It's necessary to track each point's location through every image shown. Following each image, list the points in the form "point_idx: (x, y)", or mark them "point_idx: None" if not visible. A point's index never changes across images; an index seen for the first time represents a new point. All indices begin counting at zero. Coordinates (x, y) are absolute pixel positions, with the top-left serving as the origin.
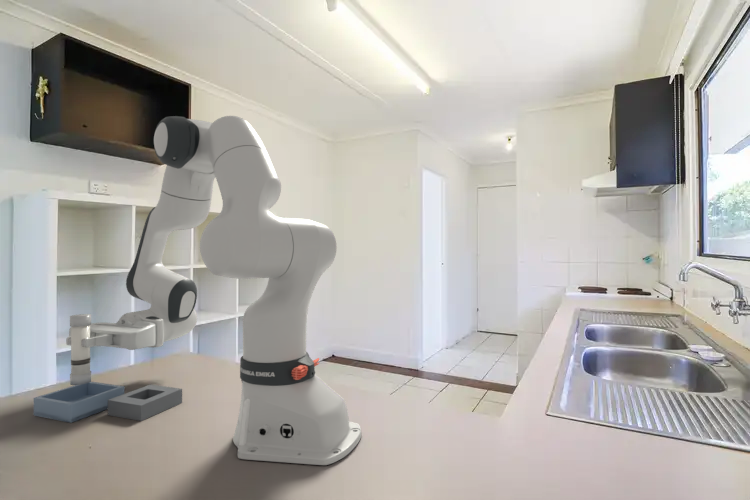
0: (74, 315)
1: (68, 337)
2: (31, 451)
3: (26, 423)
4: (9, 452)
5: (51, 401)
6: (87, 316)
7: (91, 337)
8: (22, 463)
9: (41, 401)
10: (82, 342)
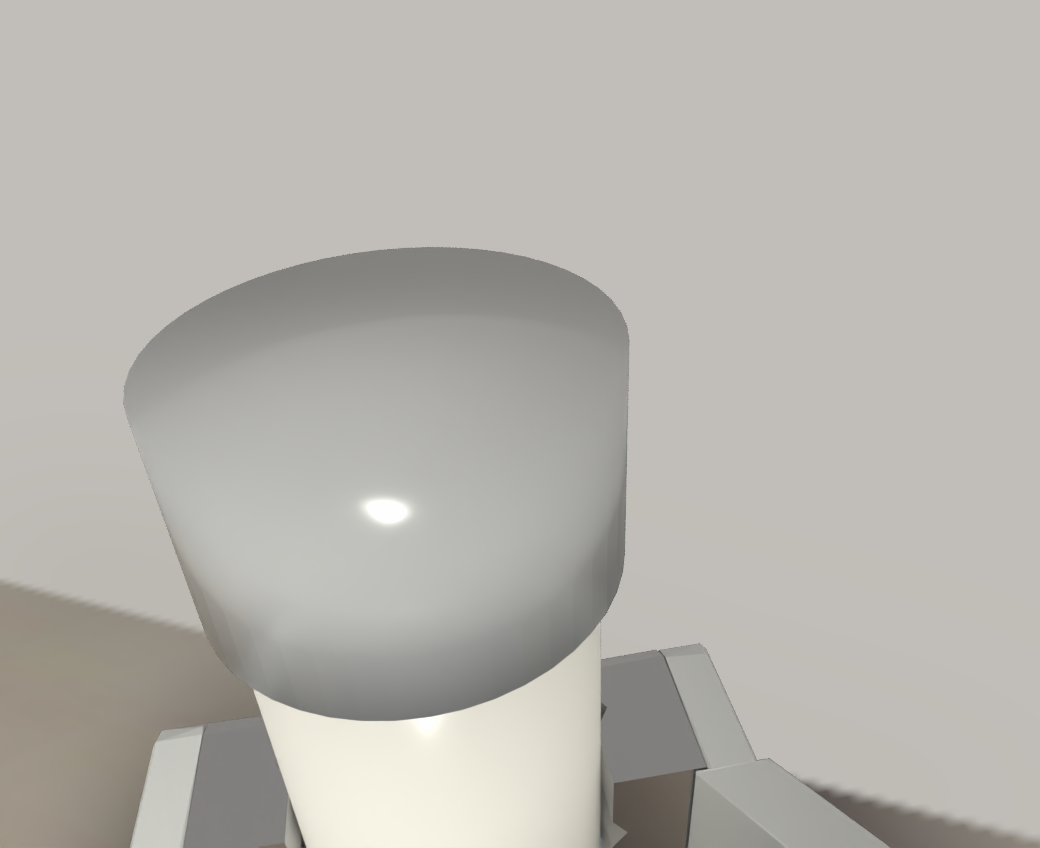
0: (521, 294)
1: (679, 651)
2: (132, 693)
3: None
4: None
5: None
6: (138, 403)
7: (214, 838)
8: (63, 641)
9: None
10: None
